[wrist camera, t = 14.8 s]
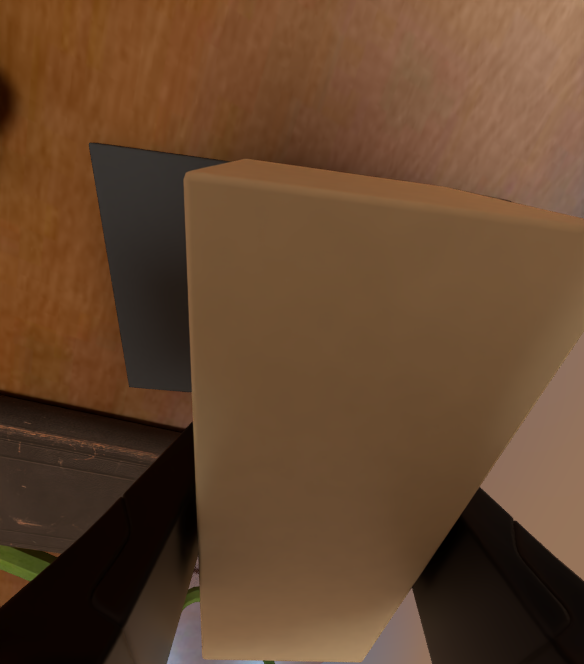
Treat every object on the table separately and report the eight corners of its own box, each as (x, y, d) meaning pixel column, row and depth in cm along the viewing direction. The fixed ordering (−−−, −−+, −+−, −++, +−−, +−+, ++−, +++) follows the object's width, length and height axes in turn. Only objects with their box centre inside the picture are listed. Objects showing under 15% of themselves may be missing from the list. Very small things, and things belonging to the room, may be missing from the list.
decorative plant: (-32, 538, 26) (298, 674, 27) (51, 468, 34) (306, 574, 34) (-35, 583, 28) (273, 710, 29) (44, 508, 36) (285, 607, 36)
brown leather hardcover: (175, 541, 31) (168, 568, 29) (-92, 501, 28) (-122, 528, 26) (205, 432, 24) (198, 458, 22) (-156, 356, 20) (-205, 378, 18)
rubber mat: (505, 199, 16) (512, 201, 15) (417, 406, 23) (420, 412, 22) (94, 142, 15) (87, 142, 14) (132, 381, 21) (128, 387, 21)
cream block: (655, 234, 3) (362, 663, 9) (447, 186, 7) (339, 507, 13) (179, 169, 3) (201, 660, 9) (242, 157, 7) (227, 501, 13)
